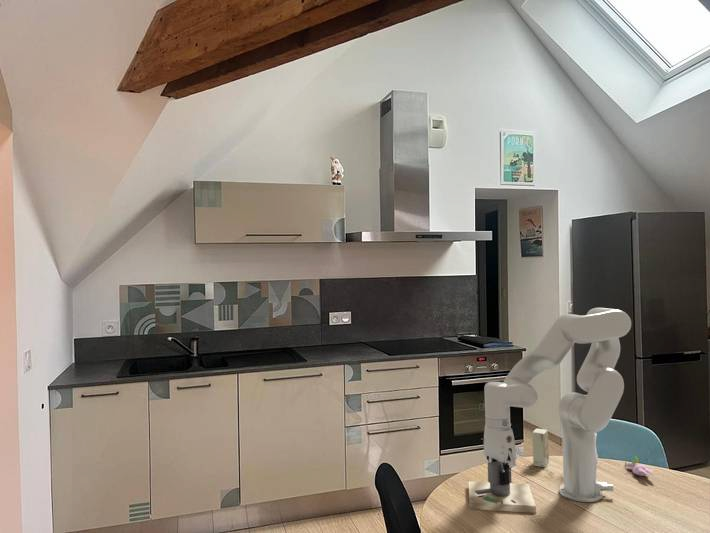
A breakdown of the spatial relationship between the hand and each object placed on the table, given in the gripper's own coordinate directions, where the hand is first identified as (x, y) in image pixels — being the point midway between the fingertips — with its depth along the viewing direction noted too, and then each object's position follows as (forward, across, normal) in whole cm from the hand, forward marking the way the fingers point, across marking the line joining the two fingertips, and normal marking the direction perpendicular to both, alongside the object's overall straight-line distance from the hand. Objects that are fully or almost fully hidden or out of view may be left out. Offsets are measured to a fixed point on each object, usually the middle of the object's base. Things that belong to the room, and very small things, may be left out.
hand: (499, 480), depth 162 cm
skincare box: (+6, +15, -33) cm, 37 cm away
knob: (+3, 0, +2) cm, 4 cm away
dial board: (+6, 0, 0) cm, 6 cm away
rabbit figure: (+6, -9, -54) cm, 55 cm away
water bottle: (+6, +6, -46) cm, 47 cm away
